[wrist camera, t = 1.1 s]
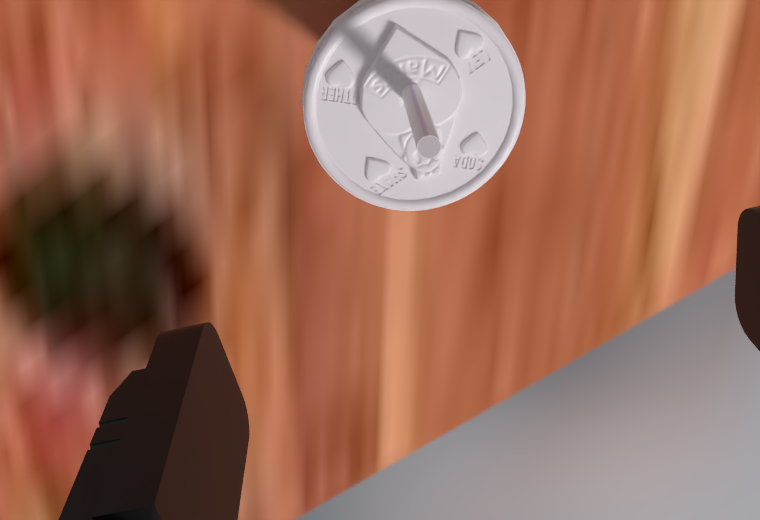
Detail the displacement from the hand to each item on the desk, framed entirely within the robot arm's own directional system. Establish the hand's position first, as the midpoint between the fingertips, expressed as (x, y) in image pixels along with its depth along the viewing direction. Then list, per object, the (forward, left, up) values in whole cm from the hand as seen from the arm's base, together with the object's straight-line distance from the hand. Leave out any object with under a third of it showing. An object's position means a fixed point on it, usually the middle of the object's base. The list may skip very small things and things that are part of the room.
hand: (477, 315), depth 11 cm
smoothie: (0, 0, -20) cm, 20 cm away
